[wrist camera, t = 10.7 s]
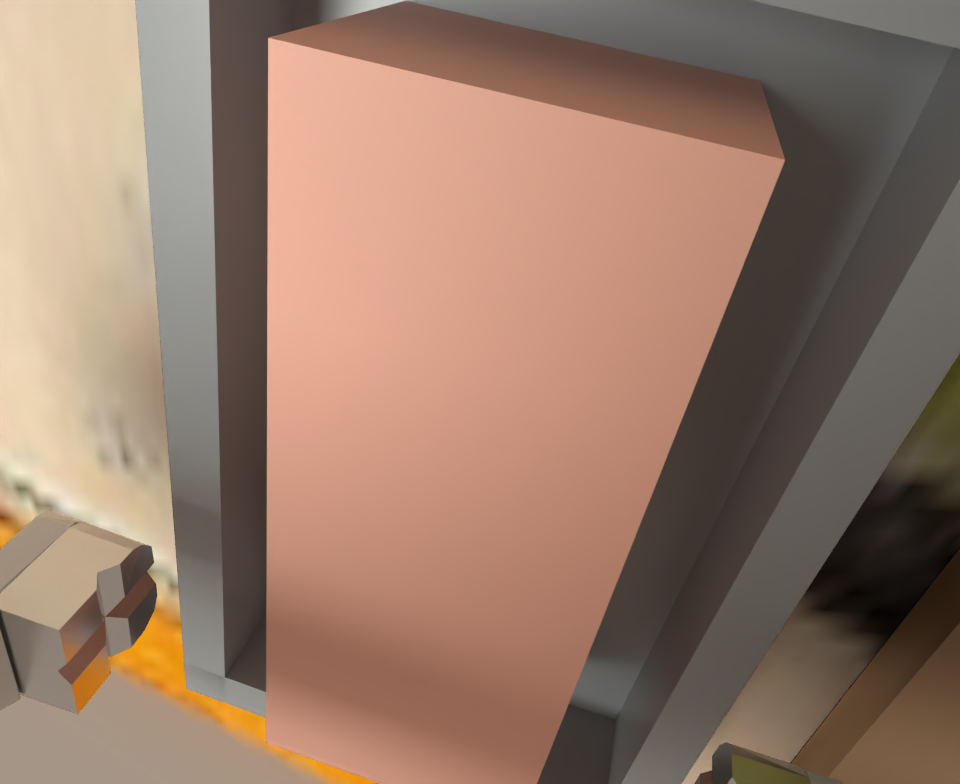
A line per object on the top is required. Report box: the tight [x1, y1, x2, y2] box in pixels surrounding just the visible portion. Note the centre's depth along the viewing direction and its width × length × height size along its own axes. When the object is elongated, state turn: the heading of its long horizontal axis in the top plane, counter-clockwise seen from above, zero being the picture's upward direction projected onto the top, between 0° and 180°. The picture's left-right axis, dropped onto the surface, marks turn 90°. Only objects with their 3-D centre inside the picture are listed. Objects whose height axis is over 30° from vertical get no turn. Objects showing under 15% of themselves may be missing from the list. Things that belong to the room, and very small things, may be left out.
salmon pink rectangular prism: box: [266, 1, 785, 784], centre depth 10 cm, size 4×10×3 cm, turn 170°
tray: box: [135, 0, 960, 784], centre depth 11 cm, size 14×9×2 cm, turn 169°
